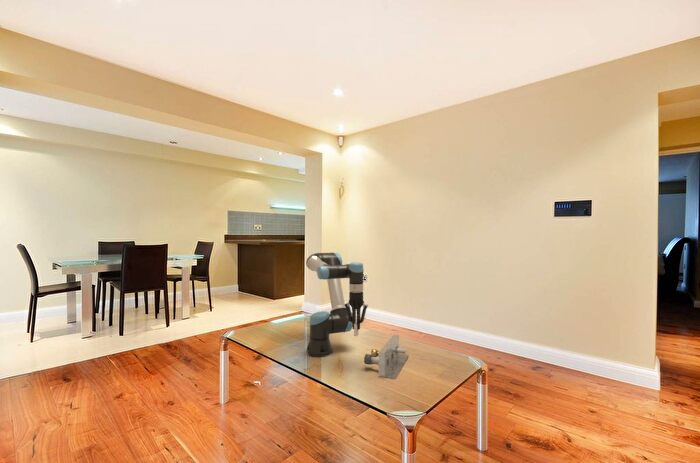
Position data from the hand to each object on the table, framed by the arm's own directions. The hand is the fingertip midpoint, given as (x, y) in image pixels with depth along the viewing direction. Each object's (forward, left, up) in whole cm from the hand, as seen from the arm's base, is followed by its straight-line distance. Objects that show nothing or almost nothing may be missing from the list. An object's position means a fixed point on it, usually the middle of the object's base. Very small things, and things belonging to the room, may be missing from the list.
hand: (356, 335), depth 169 cm
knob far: (+17, +17, -14) cm, 28 cm away
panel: (+19, +8, -17) cm, 26 cm away
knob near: (+11, -1, -14) cm, 18 cm away
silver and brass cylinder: (+11, +8, -13) cm, 19 cm away
